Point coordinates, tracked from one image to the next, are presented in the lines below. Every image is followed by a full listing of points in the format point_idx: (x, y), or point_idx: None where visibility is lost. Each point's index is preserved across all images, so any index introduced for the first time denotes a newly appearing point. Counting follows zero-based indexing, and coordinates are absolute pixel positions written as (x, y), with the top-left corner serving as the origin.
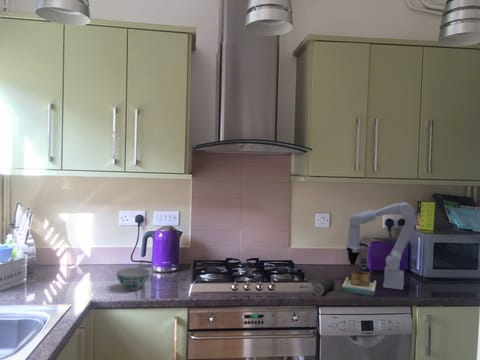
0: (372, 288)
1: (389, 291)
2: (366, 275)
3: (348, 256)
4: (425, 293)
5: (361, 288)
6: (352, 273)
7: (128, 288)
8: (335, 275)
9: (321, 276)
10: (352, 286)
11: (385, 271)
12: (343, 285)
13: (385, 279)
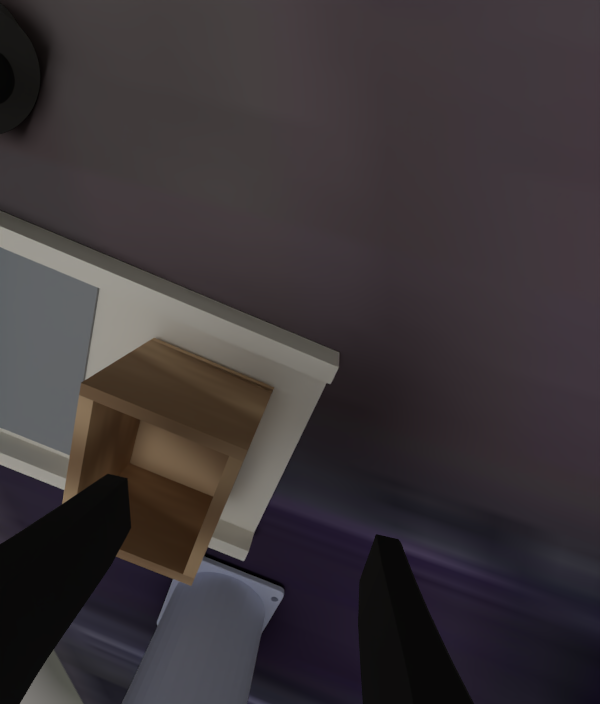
0: None
1: None
2: None
3: (395, 631)
4: None
5: (70, 393)
6: (127, 410)
7: None
8: (551, 287)
9: (525, 65)
10: (112, 339)
11: (160, 700)
12: (2, 235)
13: (187, 618)
